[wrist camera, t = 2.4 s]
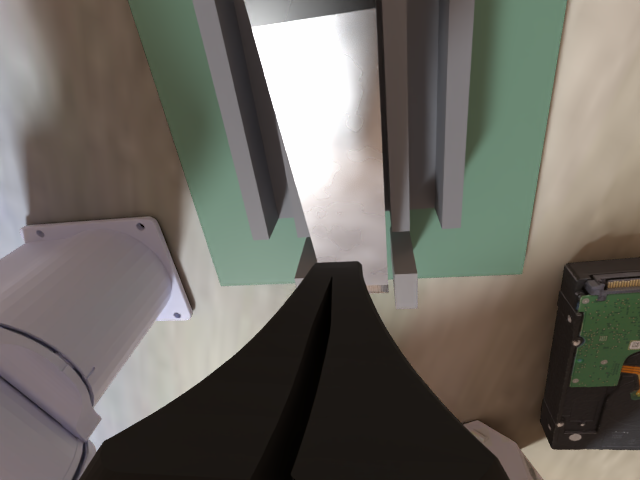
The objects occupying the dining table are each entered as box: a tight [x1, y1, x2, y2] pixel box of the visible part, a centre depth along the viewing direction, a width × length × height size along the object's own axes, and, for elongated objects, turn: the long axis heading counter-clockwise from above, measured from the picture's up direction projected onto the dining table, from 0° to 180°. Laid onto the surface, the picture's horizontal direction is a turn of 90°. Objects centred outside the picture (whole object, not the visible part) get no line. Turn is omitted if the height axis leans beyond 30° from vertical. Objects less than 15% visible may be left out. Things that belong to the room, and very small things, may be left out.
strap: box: [244, 0, 389, 293], centre depth 13 cm, size 3×14×1 cm, turn 8°
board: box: [128, 0, 567, 309], centre depth 16 cm, size 18×20×5 cm
